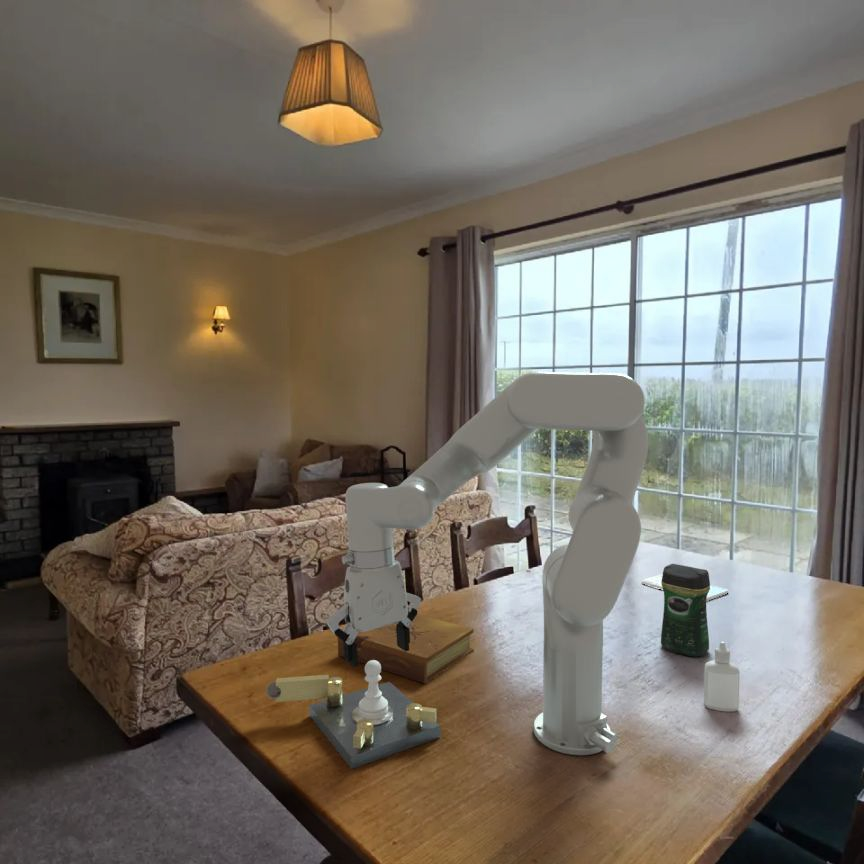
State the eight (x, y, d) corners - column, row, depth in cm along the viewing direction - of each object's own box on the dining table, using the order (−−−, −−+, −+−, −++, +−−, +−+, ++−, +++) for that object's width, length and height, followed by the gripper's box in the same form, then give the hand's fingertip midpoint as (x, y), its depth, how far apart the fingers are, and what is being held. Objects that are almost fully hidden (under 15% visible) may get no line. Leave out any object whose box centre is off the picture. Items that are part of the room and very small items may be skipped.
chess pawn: (353, 716, 103) (352, 664, 102) (367, 702, 107) (366, 653, 107) (380, 722, 101) (379, 669, 100) (393, 707, 106) (392, 657, 105)
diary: (338, 659, 132) (337, 633, 132) (391, 631, 147) (391, 607, 147) (424, 687, 119) (424, 658, 118) (473, 653, 134) (473, 627, 134)
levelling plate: (441, 738, 100) (441, 709, 100) (352, 771, 92) (352, 739, 92) (389, 691, 116) (389, 666, 116) (309, 715, 108) (308, 688, 107)
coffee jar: (713, 650, 134) (715, 567, 133) (699, 661, 128) (702, 575, 127) (670, 637, 141) (671, 558, 139) (655, 648, 135) (656, 566, 134)
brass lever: (342, 698, 110) (342, 672, 109) (342, 705, 107) (342, 679, 106) (267, 703, 108) (267, 677, 107) (265, 711, 105) (265, 684, 105)
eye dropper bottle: (733, 717, 107) (735, 650, 106) (700, 706, 110) (702, 641, 109) (741, 707, 110) (743, 642, 109) (708, 697, 114) (710, 634, 113)
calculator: (667, 577, 188) (667, 571, 187) (730, 595, 171) (730, 588, 171) (639, 585, 180) (640, 579, 180) (703, 604, 164) (703, 597, 163)
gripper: (332, 572, 95) (340, 679, 96) (427, 551, 104) (433, 649, 105) (315, 562, 101) (322, 663, 102) (405, 543, 110) (411, 636, 111)
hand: (378, 656), depth 103 cm, fingers open, 9 cm apart
